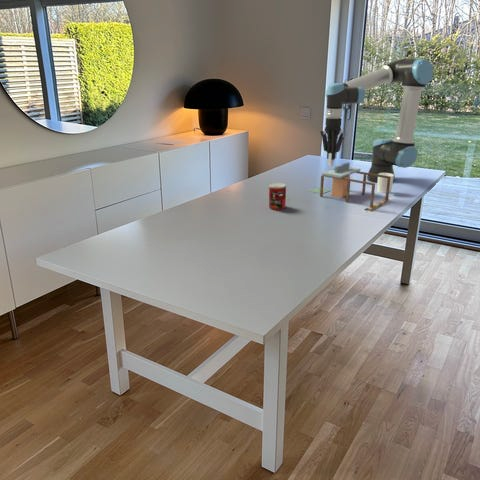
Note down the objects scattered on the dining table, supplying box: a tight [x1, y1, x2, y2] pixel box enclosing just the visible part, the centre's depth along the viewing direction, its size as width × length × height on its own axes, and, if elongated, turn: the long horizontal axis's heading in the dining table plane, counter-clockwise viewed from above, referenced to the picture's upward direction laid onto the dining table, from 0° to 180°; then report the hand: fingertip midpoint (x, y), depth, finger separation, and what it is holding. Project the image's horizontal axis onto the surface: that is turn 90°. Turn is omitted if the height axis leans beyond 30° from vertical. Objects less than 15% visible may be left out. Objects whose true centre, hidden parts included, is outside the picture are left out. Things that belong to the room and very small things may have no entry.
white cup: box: [376, 173, 395, 194], centre depth 240 cm, size 8×8×10 cm
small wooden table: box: [319, 171, 391, 212], centre depth 232 cm, size 20×38×13 cm, turn 49°
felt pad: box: [308, 187, 332, 195], centre depth 243 cm, size 8×8×1 cm
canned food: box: [268, 182, 287, 211], centre depth 220 cm, size 8×8×11 cm
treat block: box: [331, 174, 351, 199], centre depth 233 cm, size 6×6×10 cm
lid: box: [322, 162, 361, 178], centre depth 230 cm, size 19×10×4 cm, turn 139°
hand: (330, 165), depth 234 cm, fingers closed
